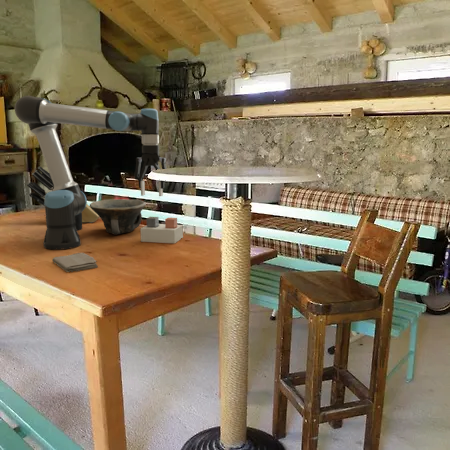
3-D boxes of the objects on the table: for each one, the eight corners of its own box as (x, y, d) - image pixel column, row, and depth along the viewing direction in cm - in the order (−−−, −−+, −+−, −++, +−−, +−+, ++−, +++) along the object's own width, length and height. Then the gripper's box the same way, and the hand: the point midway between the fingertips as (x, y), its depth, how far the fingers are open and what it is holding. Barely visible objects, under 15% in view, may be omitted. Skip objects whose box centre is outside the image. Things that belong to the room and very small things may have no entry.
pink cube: (174, 229, 202) (174, 219, 201) (165, 228, 203) (165, 219, 202) (177, 227, 206) (177, 217, 205) (168, 227, 207) (168, 217, 206)
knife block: (32, 222, 246) (27, 165, 240) (99, 219, 256) (96, 164, 250) (29, 226, 236) (24, 167, 230) (99, 222, 245) (96, 166, 239)
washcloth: (67, 274, 155) (67, 266, 155) (51, 263, 169) (50, 255, 168) (100, 268, 163) (100, 260, 162) (81, 258, 176) (81, 250, 176)
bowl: (134, 239, 206) (132, 207, 203) (81, 237, 211) (79, 205, 208) (154, 228, 232) (153, 199, 229) (107, 226, 237) (105, 197, 234)
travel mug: (79, 231, 224) (77, 191, 220) (64, 231, 224) (62, 191, 220) (84, 228, 231) (82, 189, 227) (70, 227, 231) (67, 189, 228)
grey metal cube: (155, 228, 204) (155, 218, 203) (146, 228, 205) (146, 218, 204) (158, 226, 208) (158, 217, 207) (150, 226, 209) (149, 216, 208)
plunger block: (174, 243, 199) (174, 230, 198) (140, 241, 202) (140, 228, 201) (182, 237, 210) (182, 225, 209) (150, 235, 214) (150, 223, 213)
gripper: (175, 144, 200) (176, 195, 205) (132, 144, 205) (133, 193, 209) (169, 145, 193) (170, 197, 198) (125, 144, 197) (127, 195, 202)
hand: (151, 195), depth 203 cm, fingers open, 8 cm apart
